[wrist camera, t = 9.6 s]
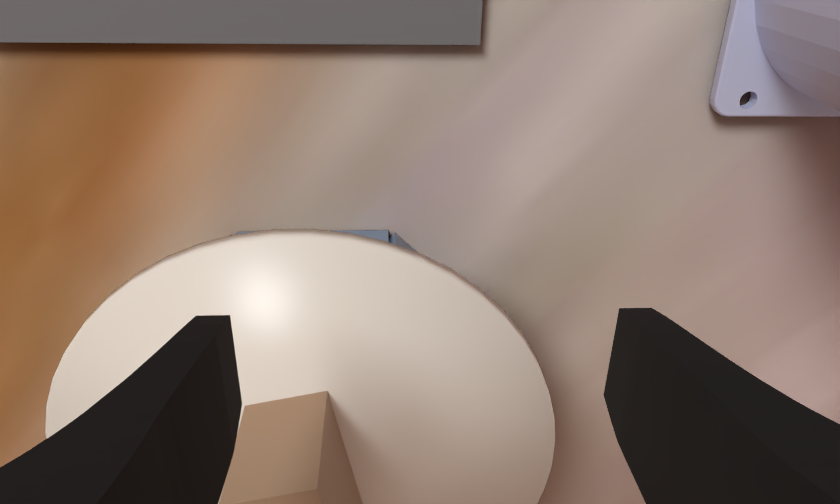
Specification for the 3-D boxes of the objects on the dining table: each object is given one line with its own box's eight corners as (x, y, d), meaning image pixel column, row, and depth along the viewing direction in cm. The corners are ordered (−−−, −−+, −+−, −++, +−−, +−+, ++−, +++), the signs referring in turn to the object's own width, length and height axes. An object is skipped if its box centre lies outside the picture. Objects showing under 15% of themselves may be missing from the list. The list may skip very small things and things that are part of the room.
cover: (523, 179, 17) (564, 257, 13) (568, 564, 24) (603, 686, 20) (-43, 287, 18) (-157, 390, 14) (162, 633, 24) (122, 764, 21)
